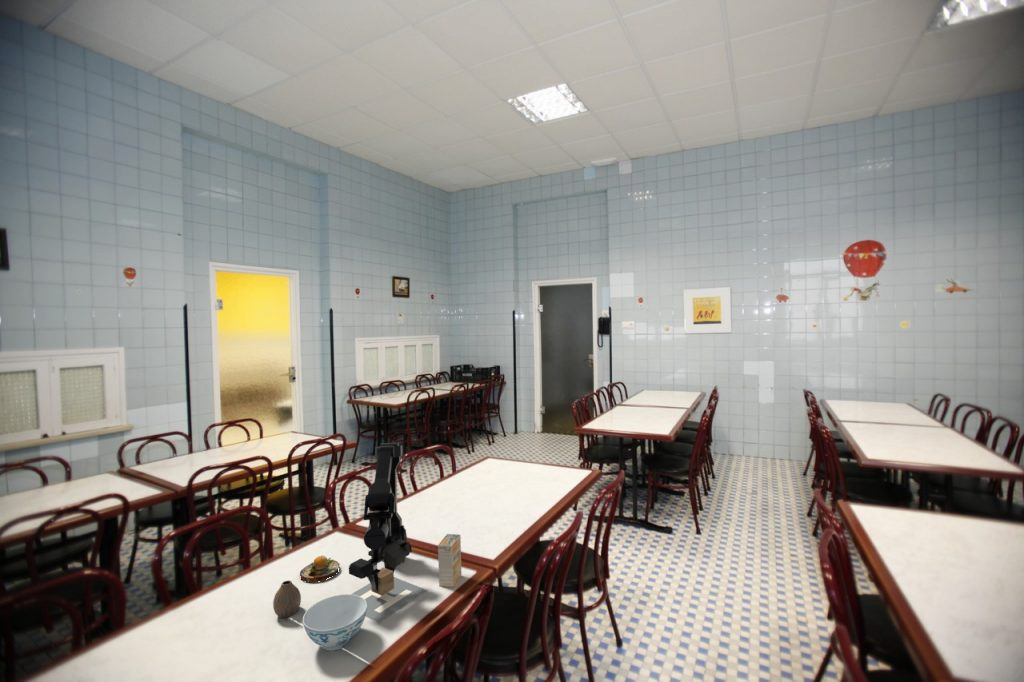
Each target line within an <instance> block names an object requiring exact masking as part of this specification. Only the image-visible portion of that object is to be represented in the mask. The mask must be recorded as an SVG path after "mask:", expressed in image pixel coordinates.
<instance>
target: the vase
mask: <svg viewBox="0 0 1024 682" xmlns="http://www.w3.org/2000/svg"><path fill="white" fill-rule="evenodd" d="M301 595H302V594H301V592H300V589H299V588H298V586H296V585H295V584H294V583H293V582H292V580H284V581H282V582H281V584H280V587H279V588H278V590H277V591H276V592H275V594H274V597H273V601H272V605H273V606H272V607H273V611H274V613H275V614H276V616H277V617H279V618H281V619H288V618H290V616H293V615H294V614H296V613H297V612H298V610H299V609H300V607H301V604H302V603H301V601H302V596H301Z"/></svg>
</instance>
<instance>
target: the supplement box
mask: <svg viewBox="0 0 1024 682" xmlns="http://www.w3.org/2000/svg"><path fill="white" fill-rule="evenodd" d="M461 538H462V537H461V534H457V533H456V534H455V533H454V534H453V533H447V534H446V535H445V536H444V537H443V539H442V540H441V541H440V542H439V544H438V545H437V548H438V549H437V553H438V554H437V555H438V556H437V557H438V558H437V559H438V561H437V562H438V587H442V588H443V587H444V588H454V587H455V585H456V583H457V582H458V580H459V579H460V577H462V552H461V551H462V546H461V545H462V544H461V543H462V542H461Z"/></svg>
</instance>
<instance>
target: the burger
mask: <svg viewBox="0 0 1024 682" xmlns="http://www.w3.org/2000/svg"><path fill="white" fill-rule="evenodd" d="M331 558H332V557H329V558H327V557H326V555H325V556H324V555H318V556H315V558H314V559H313V562H312V563H309V564H308V565H306V566H304V567H303V568H302V569H301V570H300V572H299V577H300V576H301V577H300V578H301V579H302V580H303V582H304V581H306V582H305V583H307V582H308V583H312V582H314V583H315V582H317V583H319V582H318V581H320V582H322V581H323V582H325V581H324V580H326V579H327V578H329V577H332V576H334V575H335V576H337V575H336V573H337V572H338V568H340V563H339V562H338V561H336V560H334V559H331ZM335 576H334V577H335ZM332 578H333V577H332ZM301 579H300V580H301ZM326 581H327V580H326Z"/></svg>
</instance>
